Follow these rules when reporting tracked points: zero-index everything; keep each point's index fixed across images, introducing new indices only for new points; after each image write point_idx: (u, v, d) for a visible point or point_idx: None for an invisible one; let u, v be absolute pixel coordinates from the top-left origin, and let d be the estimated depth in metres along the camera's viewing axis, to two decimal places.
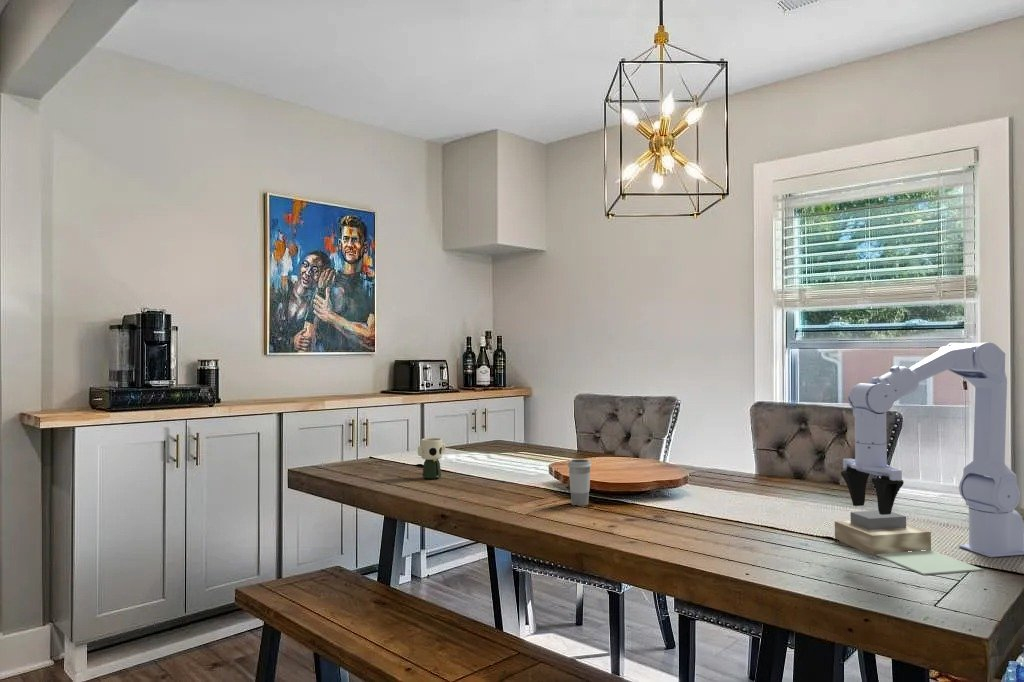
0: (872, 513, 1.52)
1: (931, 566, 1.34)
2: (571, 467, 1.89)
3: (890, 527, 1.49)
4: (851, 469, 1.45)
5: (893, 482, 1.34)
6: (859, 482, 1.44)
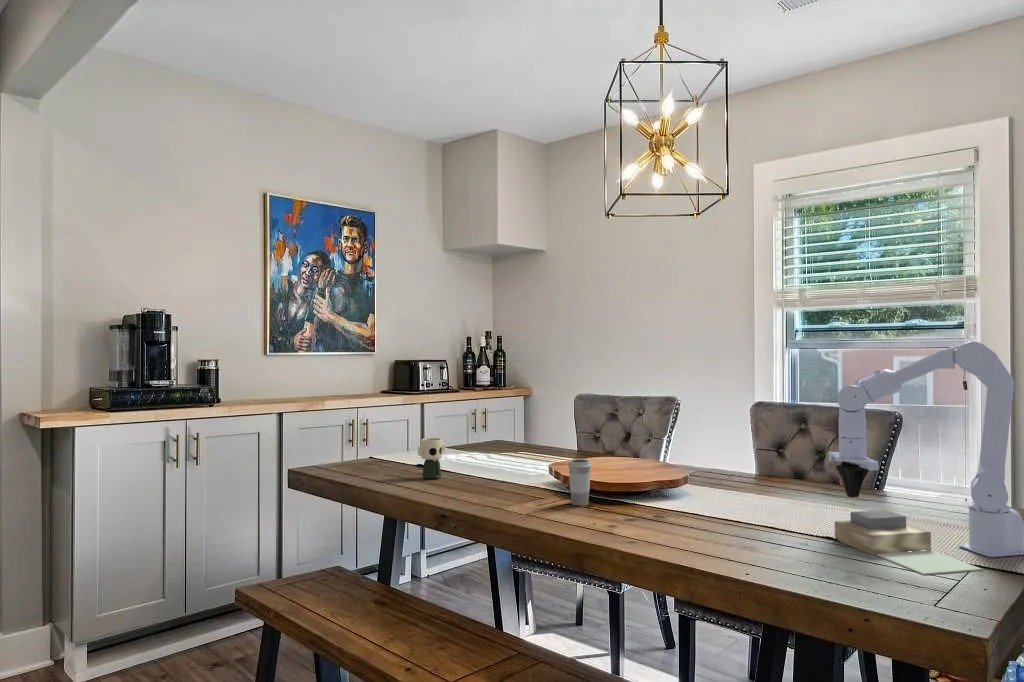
0: (872, 513, 1.52)
1: (931, 566, 1.34)
2: (571, 467, 1.89)
3: (890, 527, 1.49)
4: (845, 463, 1.60)
5: (860, 469, 1.57)
6: None
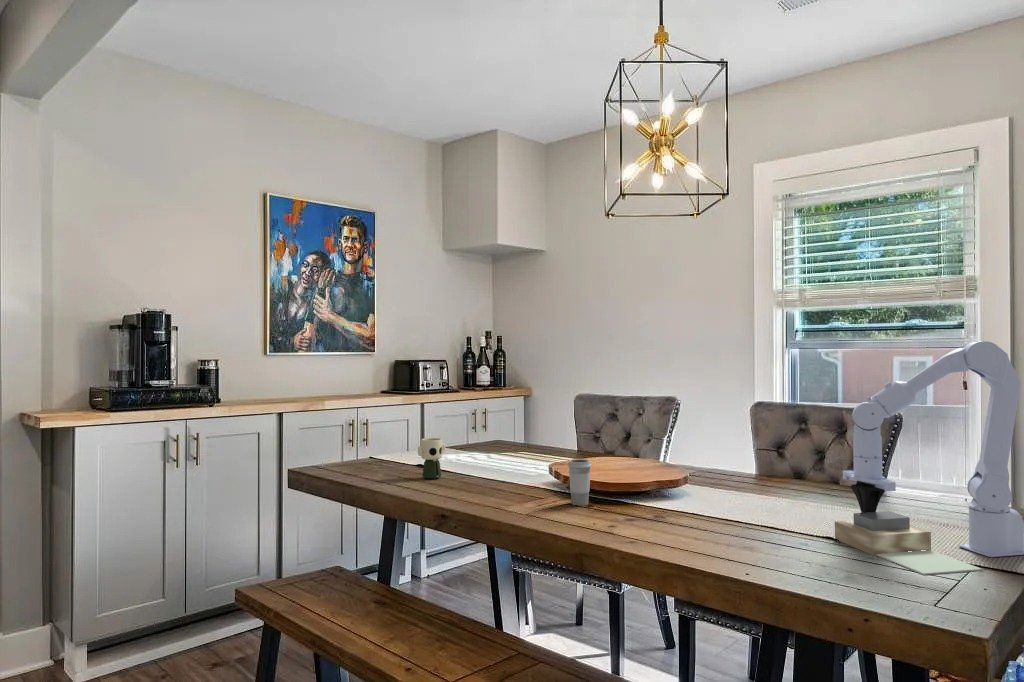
0: (875, 514, 1.51)
1: (931, 566, 1.34)
2: (571, 467, 1.89)
3: (893, 528, 1.48)
4: (860, 483, 1.56)
5: (876, 489, 1.52)
6: None
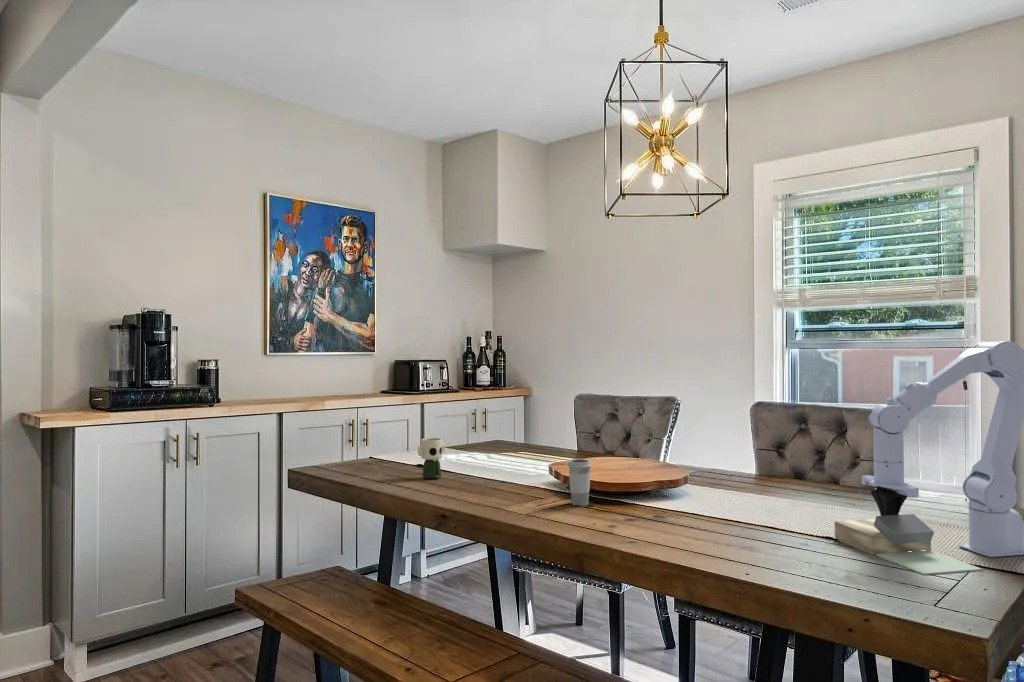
0: (899, 521, 1.44)
1: (931, 566, 1.34)
2: (571, 467, 1.89)
3: (914, 541, 1.42)
4: (881, 489, 1.49)
5: (898, 495, 1.46)
6: None
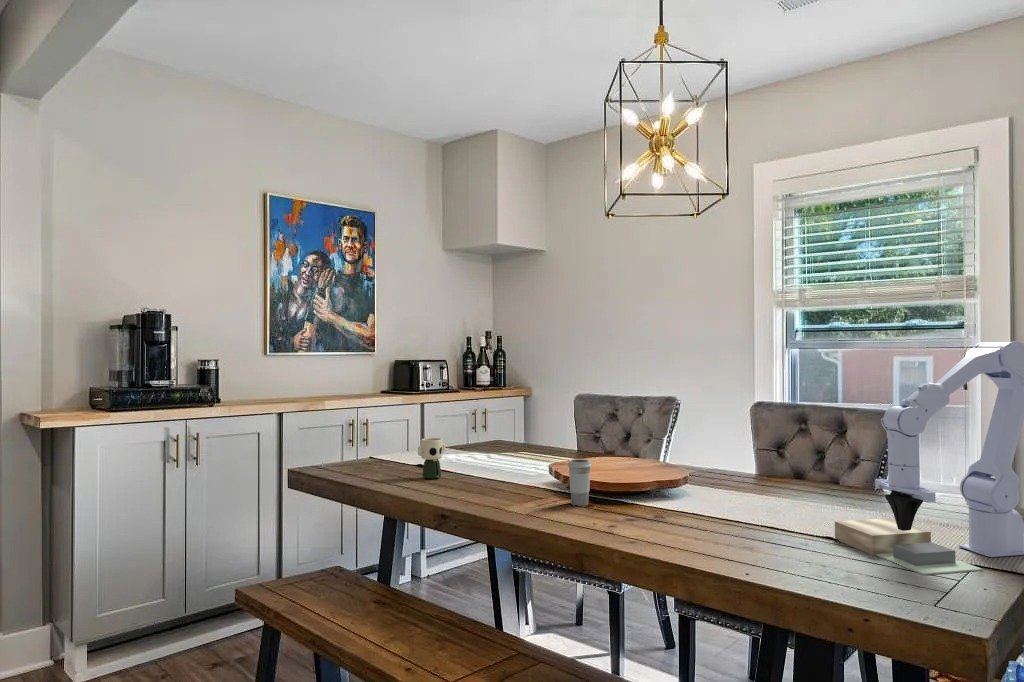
0: None
1: (931, 566, 1.34)
2: (571, 467, 1.89)
3: None
4: (896, 493, 1.45)
5: (913, 500, 1.42)
6: None
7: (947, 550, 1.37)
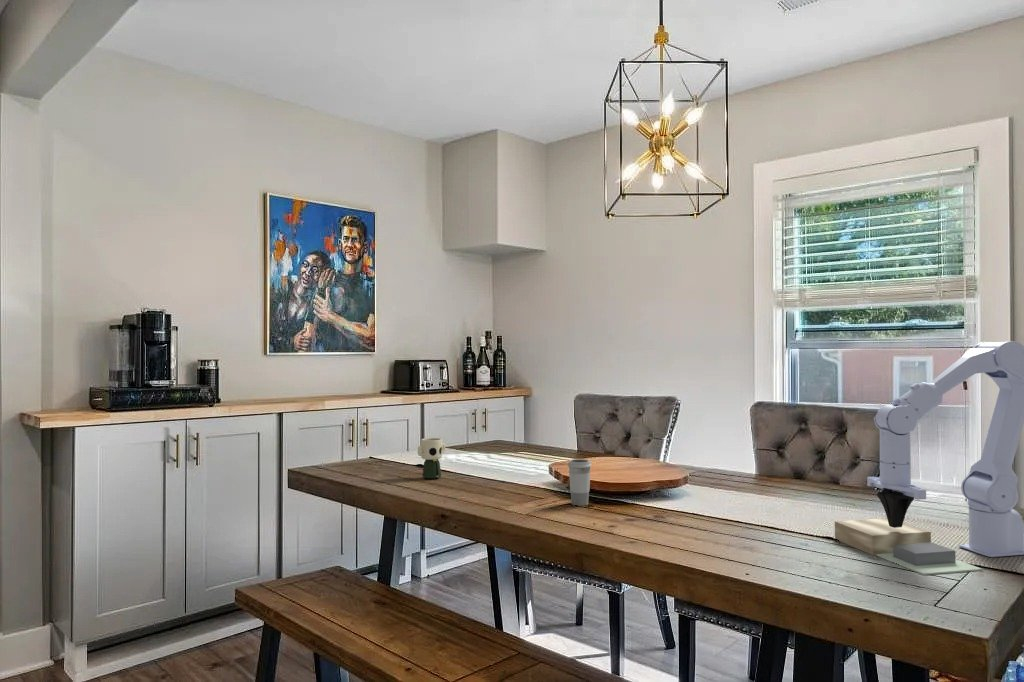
0: None
1: (931, 566, 1.34)
2: (571, 467, 1.89)
3: None
4: (887, 490, 1.47)
5: (904, 497, 1.44)
6: None
7: (947, 550, 1.37)
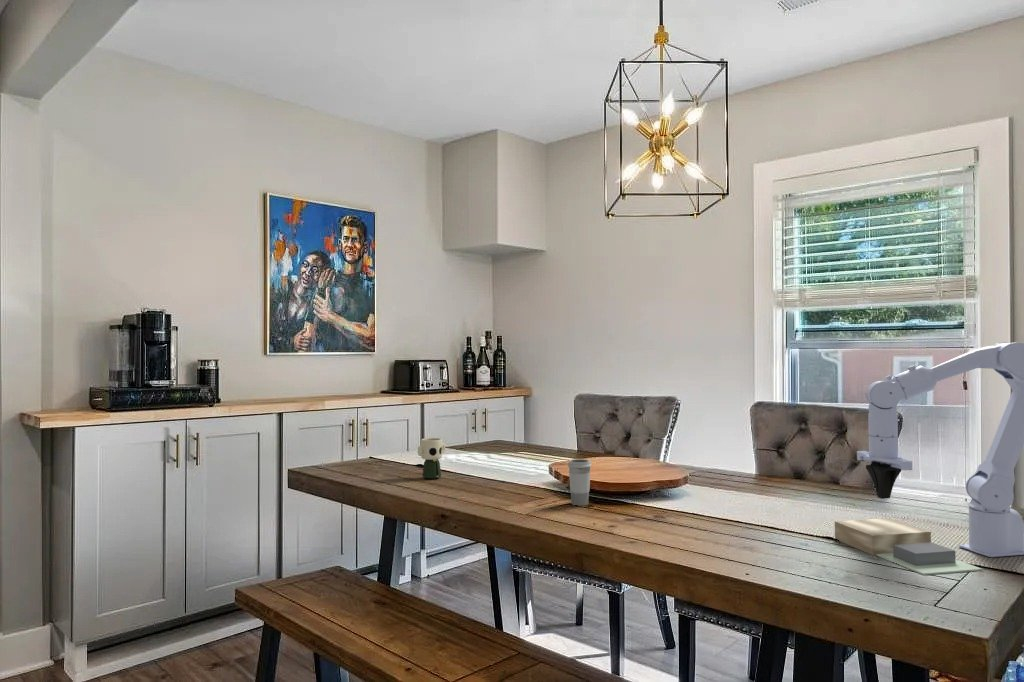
0: None
1: (931, 566, 1.34)
2: (571, 467, 1.89)
3: None
4: (876, 463, 1.53)
5: (892, 469, 1.49)
6: None
7: (947, 550, 1.37)
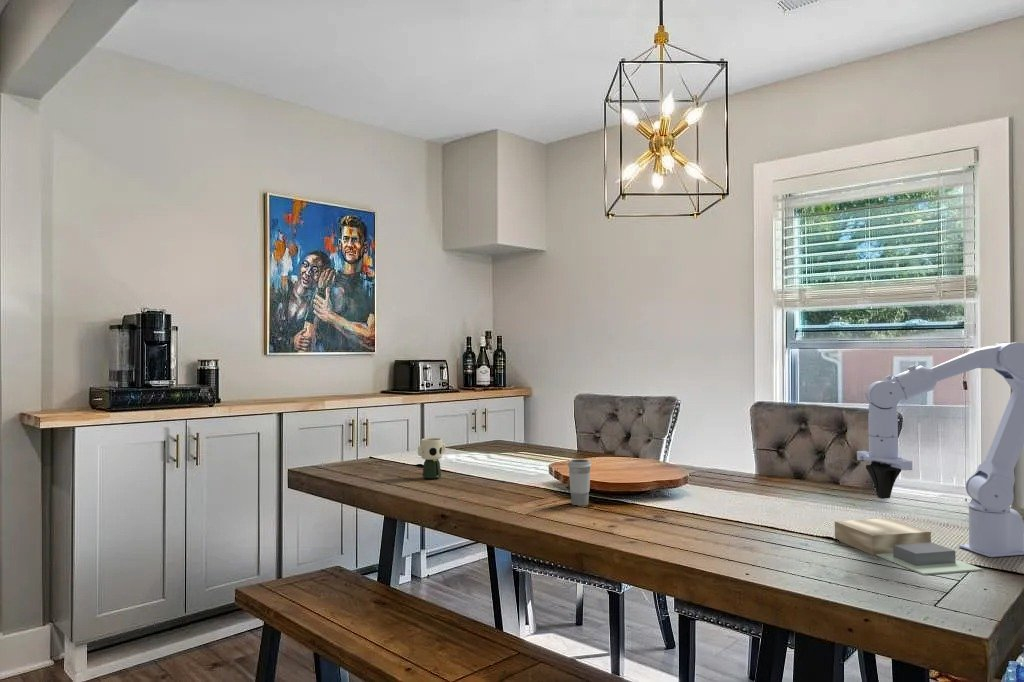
0: None
1: (931, 566, 1.34)
2: (571, 467, 1.89)
3: None
4: (876, 463, 1.53)
5: (892, 469, 1.49)
6: None
7: (947, 550, 1.37)
